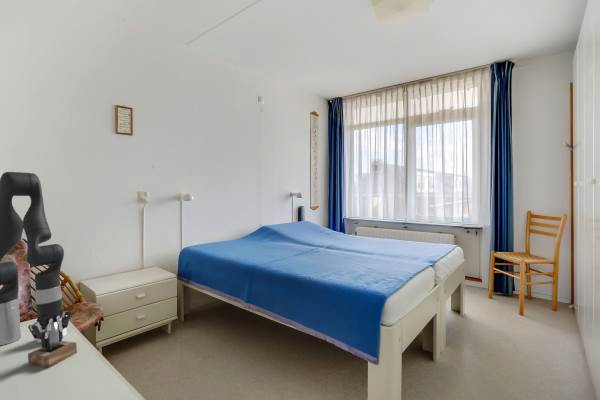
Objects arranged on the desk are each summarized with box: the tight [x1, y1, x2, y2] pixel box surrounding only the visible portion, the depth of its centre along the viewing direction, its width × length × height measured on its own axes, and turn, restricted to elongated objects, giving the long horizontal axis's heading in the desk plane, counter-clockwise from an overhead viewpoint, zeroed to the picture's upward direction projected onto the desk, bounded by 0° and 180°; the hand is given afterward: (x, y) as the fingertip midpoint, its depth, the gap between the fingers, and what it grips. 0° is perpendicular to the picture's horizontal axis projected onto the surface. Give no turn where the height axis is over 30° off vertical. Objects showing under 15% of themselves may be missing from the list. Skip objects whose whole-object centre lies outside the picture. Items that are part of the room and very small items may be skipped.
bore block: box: [27, 340, 78, 369], centre depth 113 cm, size 10×10×4 cm
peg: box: [44, 322, 60, 353], centre depth 113 cm, size 4×4×12 cm
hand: (52, 344), depth 113 cm, fingers closed on peg, 4 cm apart
